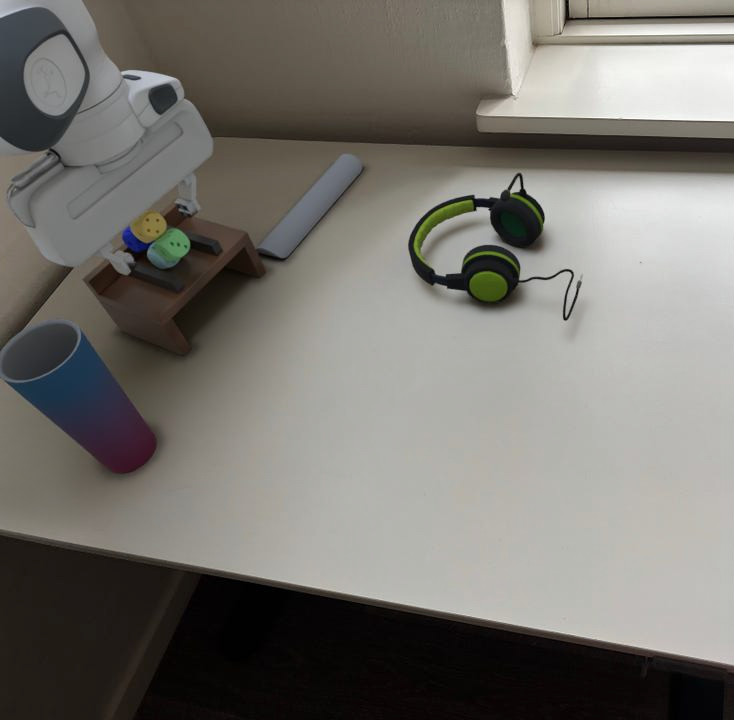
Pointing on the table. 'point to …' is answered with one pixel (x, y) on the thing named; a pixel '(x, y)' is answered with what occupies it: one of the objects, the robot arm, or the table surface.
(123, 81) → the robot arm
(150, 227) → the dice
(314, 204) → the half round rod
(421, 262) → the headphones
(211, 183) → the table surface
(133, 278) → the laptop stand
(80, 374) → the cup
